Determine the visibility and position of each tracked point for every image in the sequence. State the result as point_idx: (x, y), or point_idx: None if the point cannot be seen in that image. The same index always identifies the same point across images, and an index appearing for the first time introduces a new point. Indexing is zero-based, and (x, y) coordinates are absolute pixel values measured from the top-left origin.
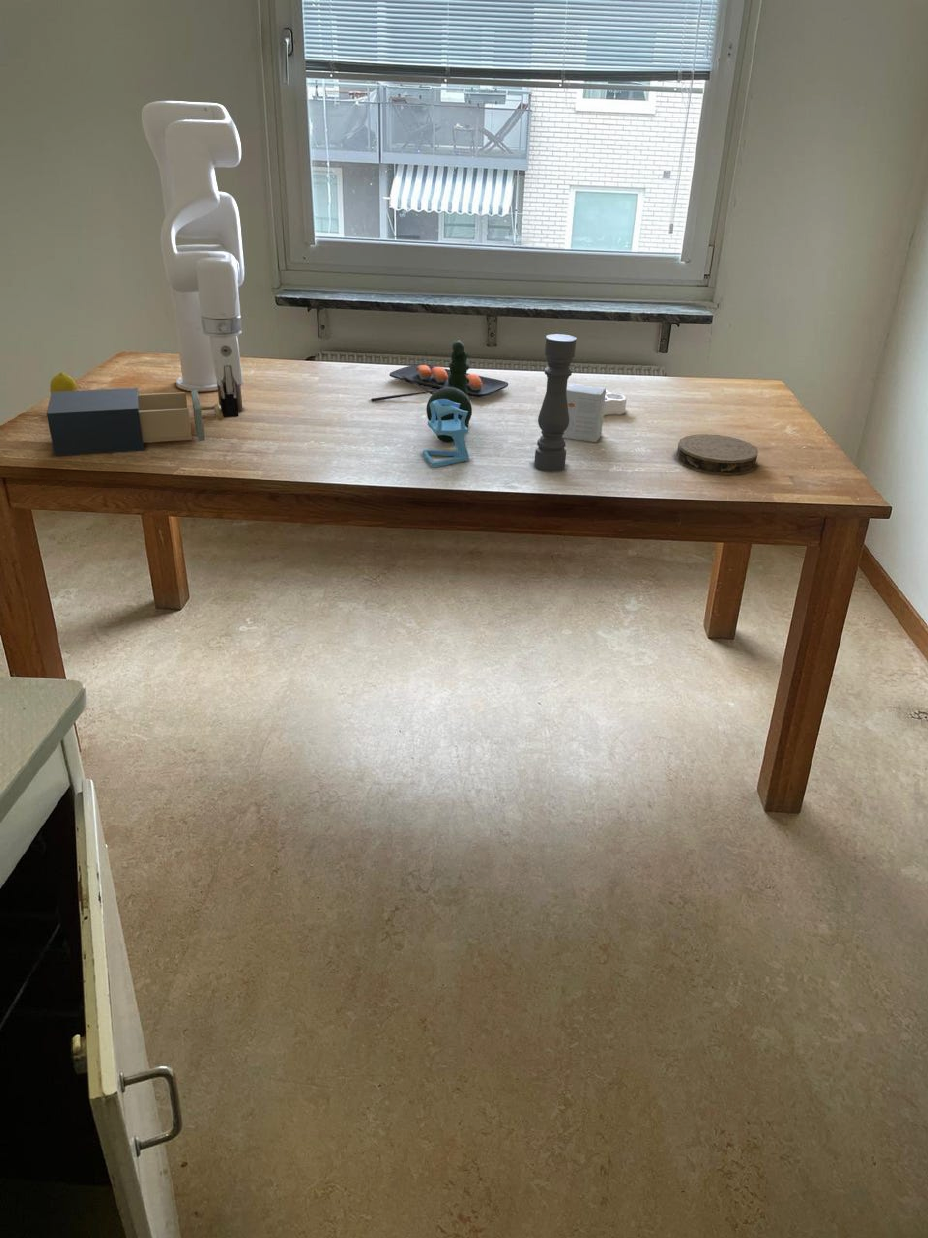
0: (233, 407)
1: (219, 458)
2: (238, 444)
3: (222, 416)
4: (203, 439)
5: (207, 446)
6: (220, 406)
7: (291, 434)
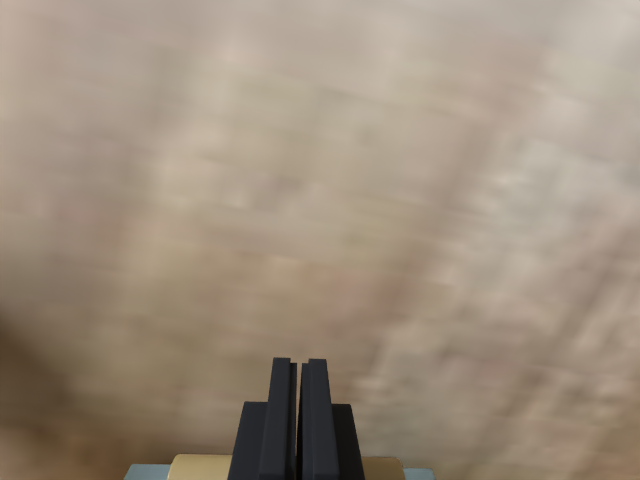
0: (355, 437)
1: (596, 418)
2: (467, 330)
3: (402, 473)
4: (433, 478)
5: (442, 444)
6: (192, 472)
7: (417, 26)
